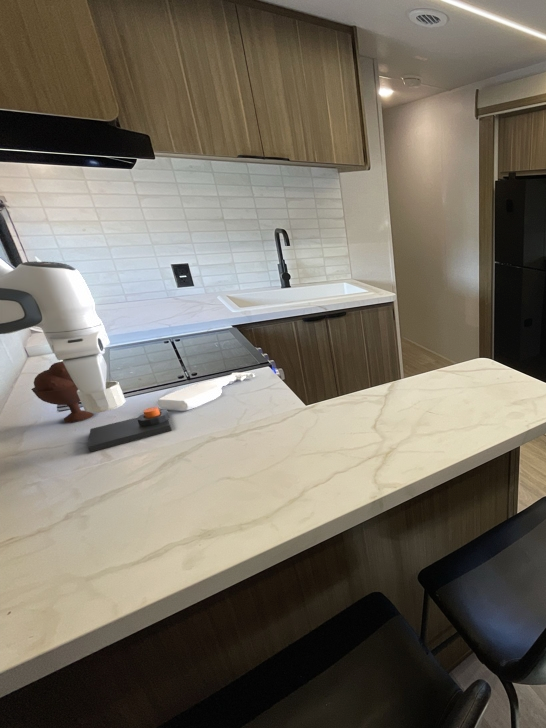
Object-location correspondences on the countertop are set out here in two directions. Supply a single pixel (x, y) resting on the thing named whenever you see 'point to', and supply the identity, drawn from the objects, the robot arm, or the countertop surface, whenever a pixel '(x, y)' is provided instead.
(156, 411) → the button
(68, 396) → the ice cream bowl
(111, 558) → the countertop surface
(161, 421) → the scale
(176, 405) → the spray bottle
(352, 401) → the countertop surface
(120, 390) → the small bowl
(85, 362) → the robot arm
